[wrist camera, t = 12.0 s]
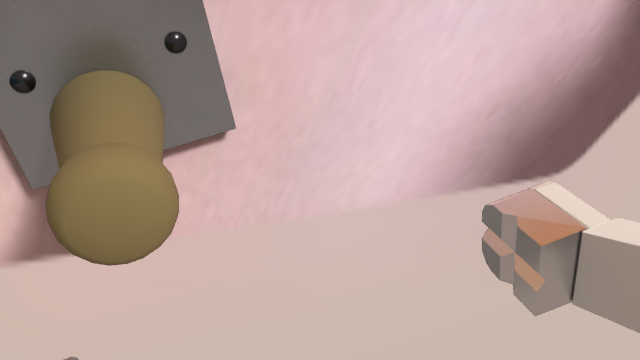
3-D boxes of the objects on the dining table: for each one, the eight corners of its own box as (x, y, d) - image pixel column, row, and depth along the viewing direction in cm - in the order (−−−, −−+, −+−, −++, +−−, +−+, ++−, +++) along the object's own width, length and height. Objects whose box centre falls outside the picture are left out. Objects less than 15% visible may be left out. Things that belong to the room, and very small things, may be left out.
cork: (156, 175, 33) (181, 288, 24) (45, 165, 30) (25, 288, 21) (173, 80, 31) (207, 165, 21) (53, 60, 28) (35, 148, 19)
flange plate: (138, -230, 25) (140, -235, 24) (231, 121, 34) (236, 128, 33) (-157, -189, 22) (-169, -192, 21) (34, 180, 32) (32, 190, 31)
